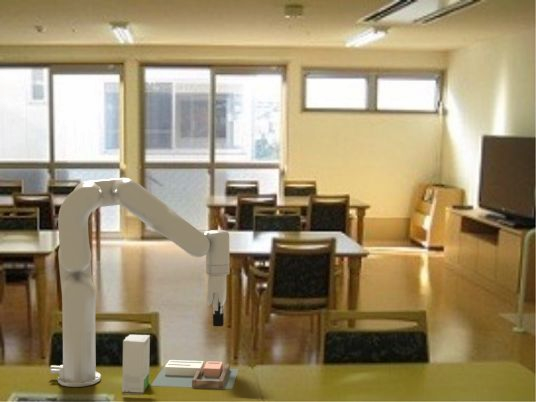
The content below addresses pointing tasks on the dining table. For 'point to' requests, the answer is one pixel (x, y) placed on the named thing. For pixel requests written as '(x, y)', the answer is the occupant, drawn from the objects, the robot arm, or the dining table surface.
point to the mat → (187, 380)
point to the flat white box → (183, 367)
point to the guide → (211, 383)
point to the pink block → (213, 369)
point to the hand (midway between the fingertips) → (218, 325)
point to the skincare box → (135, 364)
